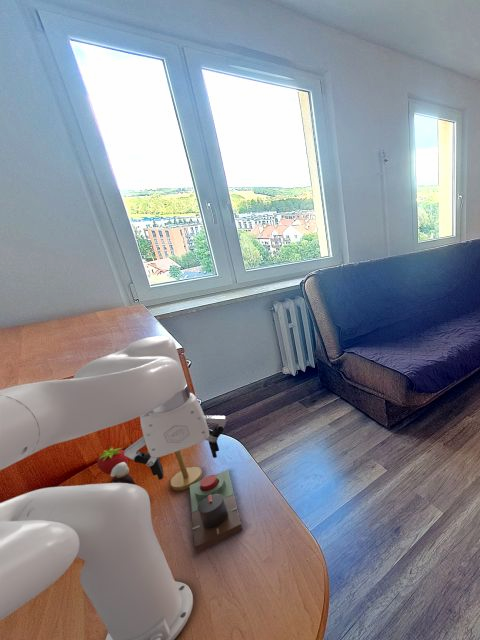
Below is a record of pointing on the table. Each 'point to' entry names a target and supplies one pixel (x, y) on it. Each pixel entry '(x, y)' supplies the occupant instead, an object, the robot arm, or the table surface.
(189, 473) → the desk lamp
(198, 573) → the table surface
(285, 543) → the table surface
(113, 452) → the strawberry
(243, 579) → the table surface
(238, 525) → the dimmer panel
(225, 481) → the switch base
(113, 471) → the grandmother figurine
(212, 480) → the lamp switch
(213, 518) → the dimmer knob
